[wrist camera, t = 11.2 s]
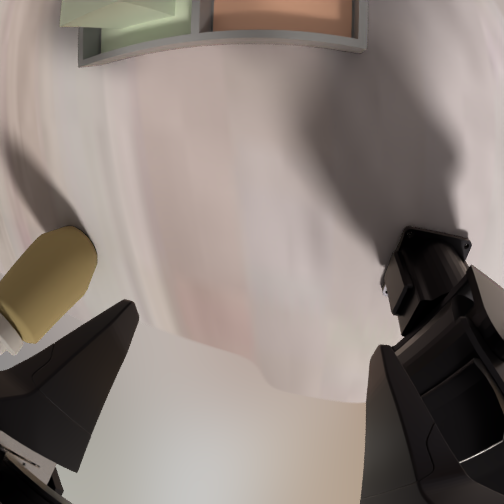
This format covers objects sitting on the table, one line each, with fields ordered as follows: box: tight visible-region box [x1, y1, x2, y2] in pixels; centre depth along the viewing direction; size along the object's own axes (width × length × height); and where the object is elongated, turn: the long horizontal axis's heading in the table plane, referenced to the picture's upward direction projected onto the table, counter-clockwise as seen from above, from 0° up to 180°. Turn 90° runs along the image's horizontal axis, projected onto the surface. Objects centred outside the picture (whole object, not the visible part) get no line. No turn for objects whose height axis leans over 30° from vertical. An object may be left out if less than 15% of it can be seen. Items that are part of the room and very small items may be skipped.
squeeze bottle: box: [0, 226, 97, 356], centre depth 20 cm, size 8×8×18 cm
